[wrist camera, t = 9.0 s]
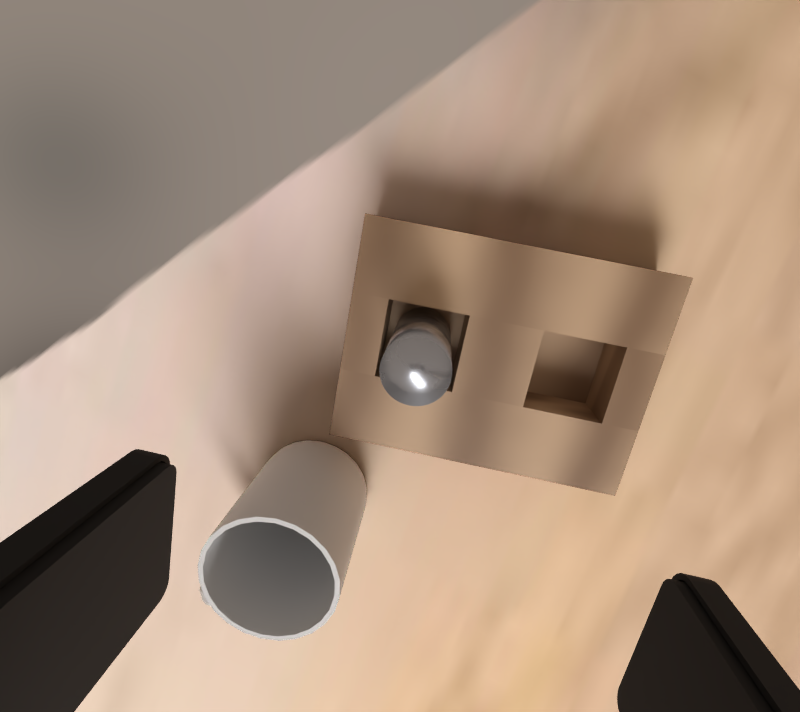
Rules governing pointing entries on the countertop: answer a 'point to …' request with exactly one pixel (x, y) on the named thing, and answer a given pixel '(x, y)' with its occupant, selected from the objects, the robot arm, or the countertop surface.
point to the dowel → (418, 358)
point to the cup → (286, 543)
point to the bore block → (509, 352)
